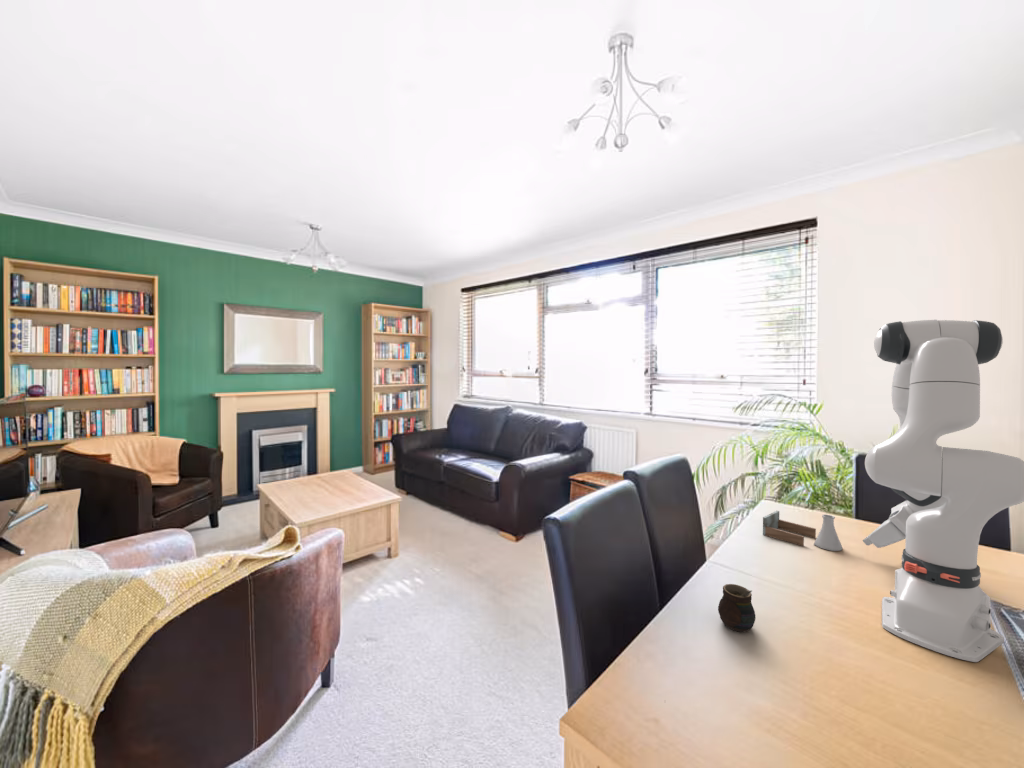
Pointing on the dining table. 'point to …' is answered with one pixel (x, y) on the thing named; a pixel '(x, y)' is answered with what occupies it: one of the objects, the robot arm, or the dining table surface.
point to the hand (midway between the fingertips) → (865, 542)
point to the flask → (828, 535)
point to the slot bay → (773, 523)
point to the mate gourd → (736, 608)
